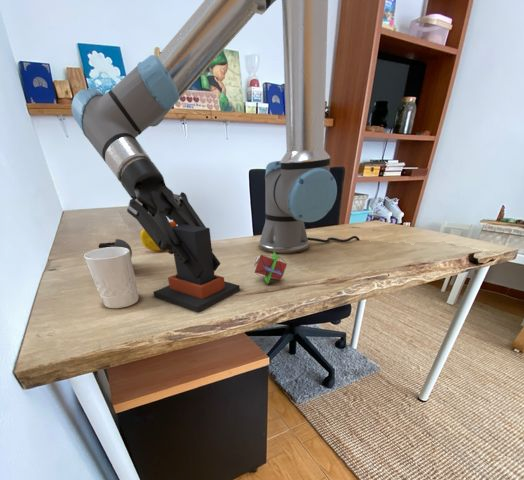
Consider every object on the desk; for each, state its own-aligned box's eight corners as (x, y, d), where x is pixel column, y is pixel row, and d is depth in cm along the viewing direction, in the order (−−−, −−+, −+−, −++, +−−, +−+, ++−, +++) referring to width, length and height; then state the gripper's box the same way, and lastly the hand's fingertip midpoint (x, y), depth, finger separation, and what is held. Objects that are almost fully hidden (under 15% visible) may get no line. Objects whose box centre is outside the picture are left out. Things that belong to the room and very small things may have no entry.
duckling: (180, 246, 95) (175, 212, 89) (182, 250, 91) (177, 216, 85) (143, 249, 92) (135, 215, 86) (144, 254, 88) (135, 218, 82)
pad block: (192, 276, 65) (184, 223, 59) (215, 282, 62) (209, 227, 56) (178, 282, 63) (168, 227, 56) (202, 289, 59) (194, 232, 53)
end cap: (134, 275, 73) (126, 247, 69) (103, 278, 71) (94, 250, 68) (135, 263, 81) (128, 237, 77) (107, 266, 79) (99, 240, 75)
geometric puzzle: (288, 266, 72) (269, 240, 68) (297, 275, 66) (277, 248, 62) (265, 284, 73) (245, 260, 69) (272, 295, 68) (251, 270, 63)
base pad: (198, 278, 71) (196, 263, 69) (240, 290, 65) (239, 274, 63) (154, 296, 62) (150, 280, 60) (198, 312, 56) (195, 294, 54)
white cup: (100, 313, 56) (82, 261, 51) (101, 297, 62) (84, 249, 57) (143, 305, 59) (130, 255, 53) (140, 291, 65) (128, 245, 59)
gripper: (165, 183, 66) (227, 269, 67) (91, 191, 54) (168, 295, 56) (177, 155, 60) (244, 249, 62) (98, 157, 49) (183, 273, 50)
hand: (208, 271), depth 59 cm, fingers open, 4 cm apart
